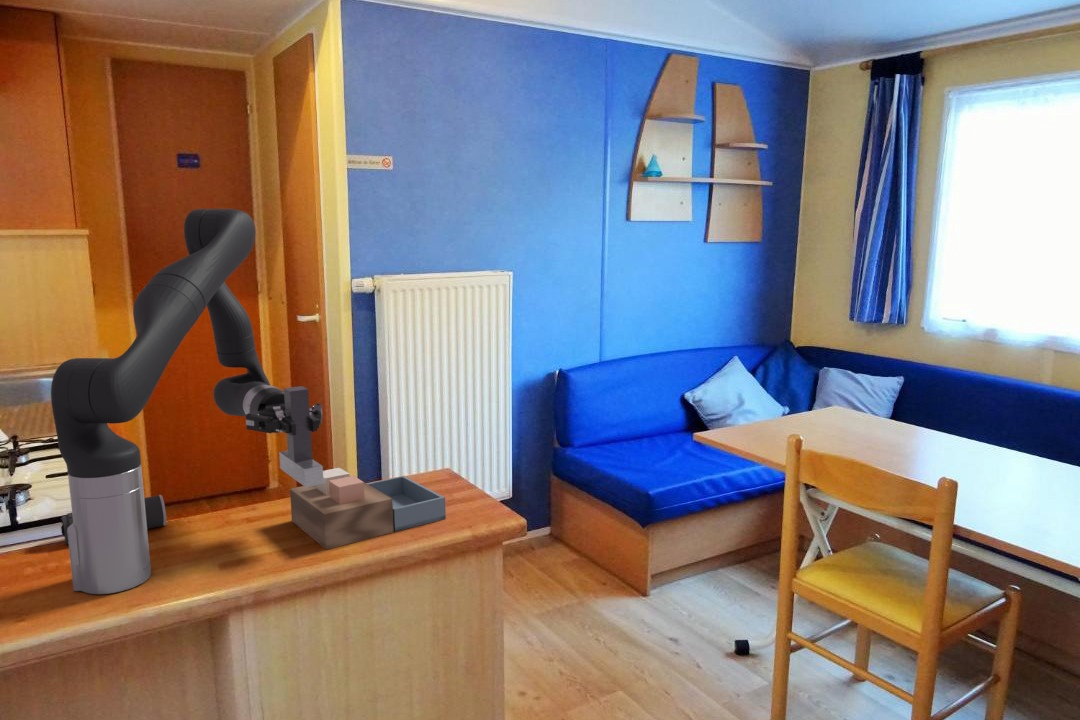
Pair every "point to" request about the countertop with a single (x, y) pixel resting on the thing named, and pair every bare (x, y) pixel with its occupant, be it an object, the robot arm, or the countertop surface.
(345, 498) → the pink block
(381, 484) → the box
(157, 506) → the flashlight
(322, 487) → the white block
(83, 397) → the robot arm
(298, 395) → the dark grey tall part
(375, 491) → the marbled brown box
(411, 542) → the countertop surface
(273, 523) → the countertop surface
